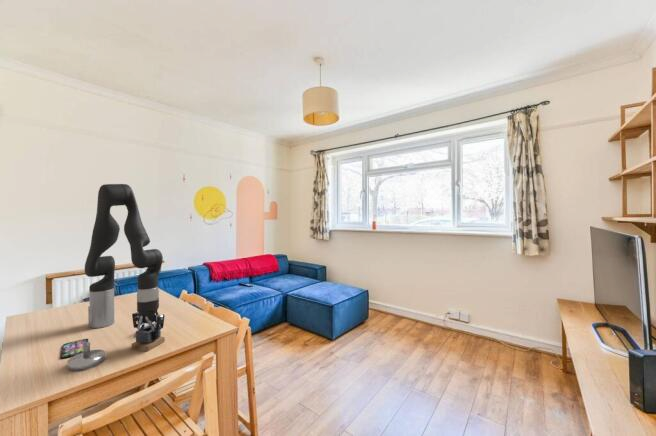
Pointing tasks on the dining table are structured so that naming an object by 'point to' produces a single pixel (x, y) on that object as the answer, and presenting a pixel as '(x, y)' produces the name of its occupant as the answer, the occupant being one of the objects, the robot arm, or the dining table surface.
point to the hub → (86, 359)
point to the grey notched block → (145, 334)
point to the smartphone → (72, 348)
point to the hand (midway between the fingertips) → (148, 338)
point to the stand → (147, 344)
